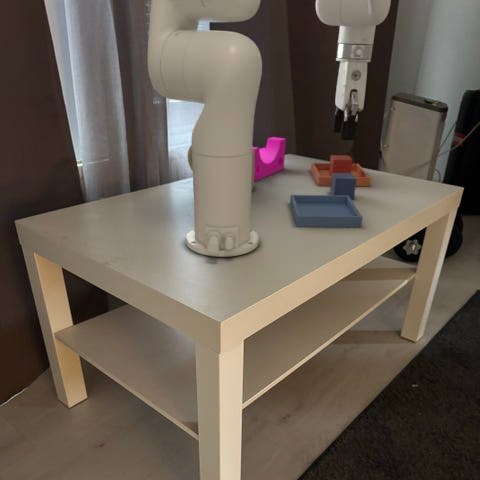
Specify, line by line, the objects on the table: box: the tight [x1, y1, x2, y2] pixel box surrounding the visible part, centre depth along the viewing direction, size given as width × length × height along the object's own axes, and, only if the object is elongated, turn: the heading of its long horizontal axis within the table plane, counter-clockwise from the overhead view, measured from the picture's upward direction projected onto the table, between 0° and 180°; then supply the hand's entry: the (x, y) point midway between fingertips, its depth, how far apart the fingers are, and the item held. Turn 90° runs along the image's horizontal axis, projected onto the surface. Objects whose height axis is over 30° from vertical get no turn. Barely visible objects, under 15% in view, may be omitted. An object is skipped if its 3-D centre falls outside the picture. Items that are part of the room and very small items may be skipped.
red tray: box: [310, 162, 371, 187], centre depth 120 cm, size 13×12×2 cm
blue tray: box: [289, 194, 363, 228], centre depth 96 cm, size 13×12×2 cm
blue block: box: [329, 173, 357, 200], centre depth 107 cm, size 4×4×4 cm
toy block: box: [252, 136, 287, 182], centre depth 121 cm, size 15×6×8 cm, turn 146°
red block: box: [329, 154, 353, 177], centre depth 119 cm, size 4×4×4 cm
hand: (343, 136), depth 114 cm, fingers open, 9 cm apart
